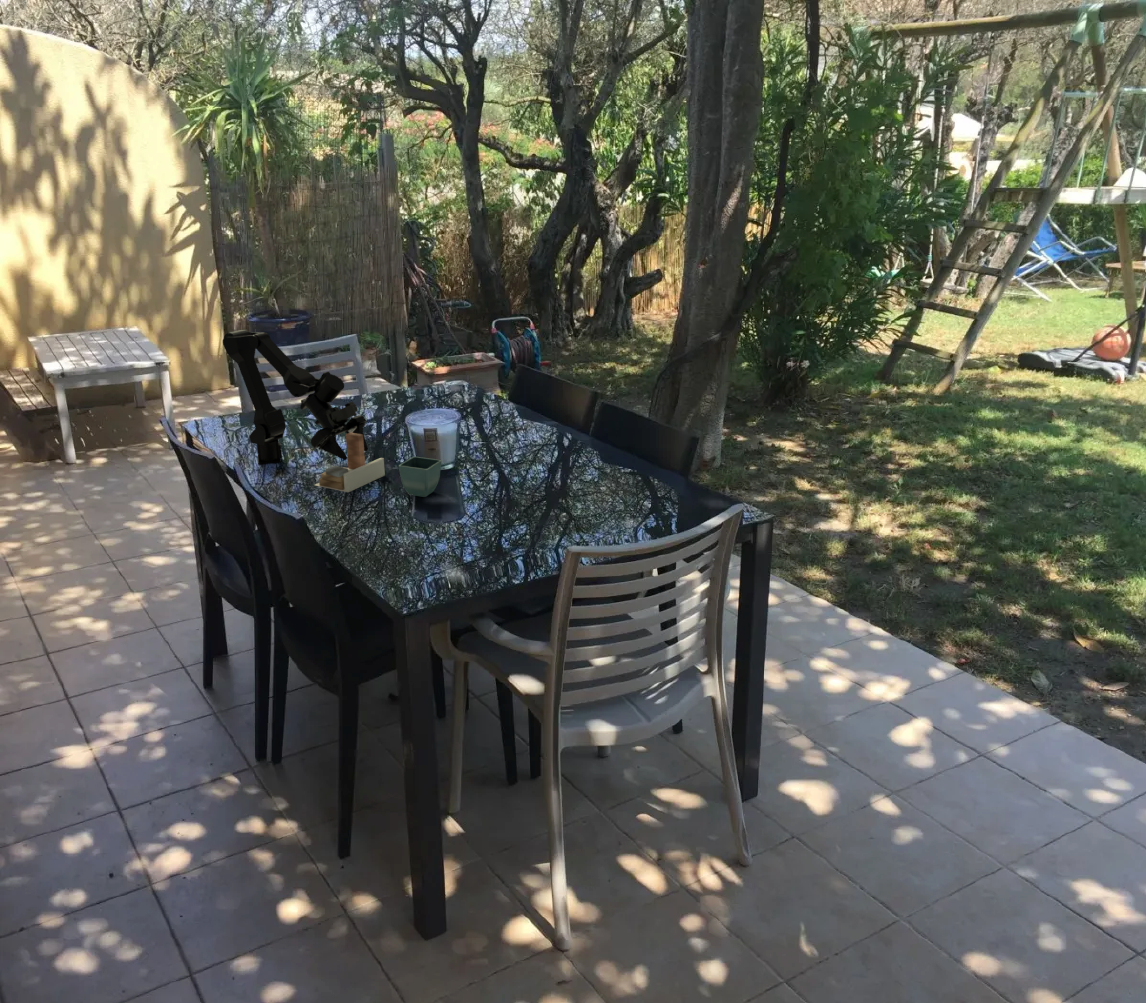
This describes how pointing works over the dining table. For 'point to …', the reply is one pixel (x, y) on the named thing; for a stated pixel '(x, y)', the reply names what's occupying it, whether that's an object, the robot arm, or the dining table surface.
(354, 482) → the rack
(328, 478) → the offcut stack
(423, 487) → the flower pot
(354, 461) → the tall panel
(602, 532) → the dining table surface
